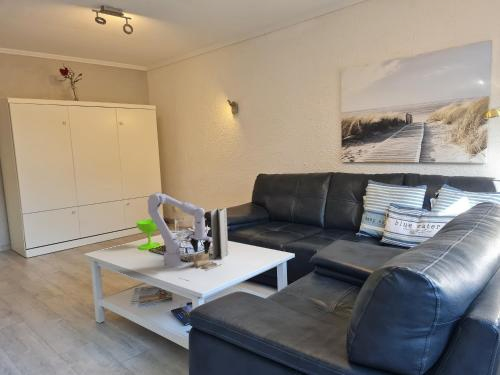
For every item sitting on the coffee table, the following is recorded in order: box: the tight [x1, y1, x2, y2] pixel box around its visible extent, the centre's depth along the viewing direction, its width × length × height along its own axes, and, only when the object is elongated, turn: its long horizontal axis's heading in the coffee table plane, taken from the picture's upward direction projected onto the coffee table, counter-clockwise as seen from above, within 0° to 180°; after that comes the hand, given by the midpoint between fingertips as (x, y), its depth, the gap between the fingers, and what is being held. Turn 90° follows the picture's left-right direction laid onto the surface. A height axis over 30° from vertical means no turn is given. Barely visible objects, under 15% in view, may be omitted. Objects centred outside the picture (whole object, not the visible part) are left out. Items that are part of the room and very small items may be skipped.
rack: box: [190, 261, 222, 272], centre depth 205 cm, size 12×15×2 cm
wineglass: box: [136, 218, 163, 251], centre depth 254 cm, size 16×16×18 cm
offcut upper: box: [201, 261, 218, 270], centre depth 204 cm, size 4×8×1 cm, turn 150°
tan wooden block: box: [193, 251, 210, 268], centre depth 207 cm, size 3×9×7 cm, turn 142°
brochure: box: [210, 207, 229, 260], centre depth 222 cm, size 14×6×30 cm, turn 168°
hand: (201, 252), depth 207 cm, fingers open, 7 cm apart
